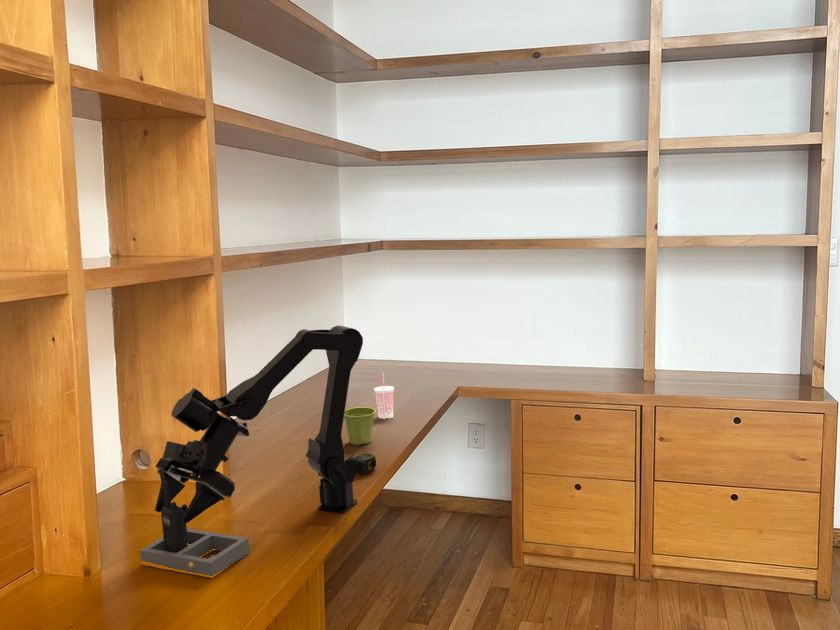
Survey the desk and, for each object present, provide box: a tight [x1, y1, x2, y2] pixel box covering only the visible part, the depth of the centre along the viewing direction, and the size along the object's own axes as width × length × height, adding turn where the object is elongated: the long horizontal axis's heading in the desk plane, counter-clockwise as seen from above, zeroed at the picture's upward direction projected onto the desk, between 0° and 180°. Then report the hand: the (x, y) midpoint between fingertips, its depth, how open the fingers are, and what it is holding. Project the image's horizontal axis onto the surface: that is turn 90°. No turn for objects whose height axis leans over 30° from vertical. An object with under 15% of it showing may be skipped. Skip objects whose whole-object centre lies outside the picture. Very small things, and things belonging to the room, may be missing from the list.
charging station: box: [139, 528, 250, 576], centre depth 147 cm, size 17×11×3 cm
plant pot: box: [344, 406, 377, 446], centre depth 216 cm, size 9×9×9 cm
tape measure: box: [345, 452, 377, 474], centre depth 193 cm, size 7×7×4 cm
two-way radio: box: [160, 481, 189, 553], centre depth 148 cm, size 6×4×15 cm
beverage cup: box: [373, 371, 395, 420], centre depth 240 cm, size 6×6×14 cm
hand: (170, 516), depth 147 cm, fingers open, 9 cm apart
